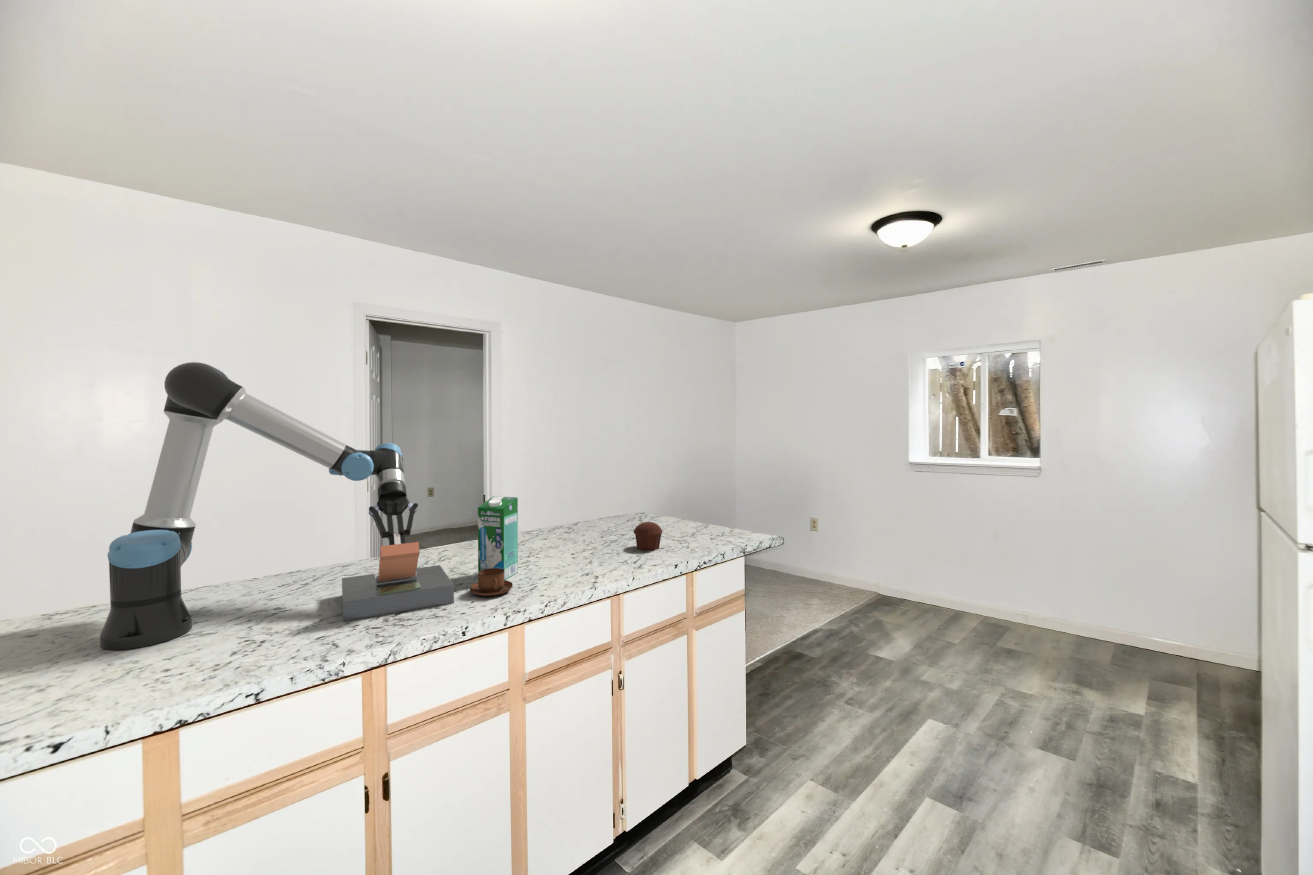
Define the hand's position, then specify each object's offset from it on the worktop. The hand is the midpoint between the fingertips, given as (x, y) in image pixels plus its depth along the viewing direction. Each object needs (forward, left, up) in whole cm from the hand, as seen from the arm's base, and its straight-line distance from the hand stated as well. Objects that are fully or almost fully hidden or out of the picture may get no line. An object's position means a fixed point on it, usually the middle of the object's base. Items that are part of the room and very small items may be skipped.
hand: (398, 557), depth 141 cm
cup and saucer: (+16, +18, -13) cm, 28 cm away
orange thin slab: (-4, +3, -7) cm, 8 cm away
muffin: (+36, +85, -13) cm, 93 cm away
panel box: (-4, +3, -13) cm, 14 cm away
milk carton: (+7, +32, -13) cm, 35 cm away
